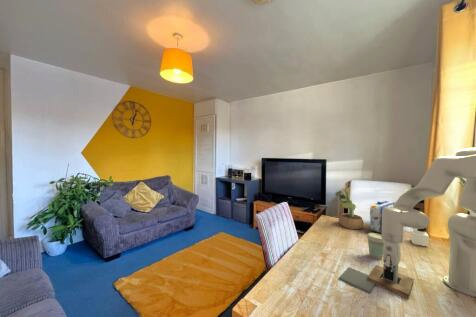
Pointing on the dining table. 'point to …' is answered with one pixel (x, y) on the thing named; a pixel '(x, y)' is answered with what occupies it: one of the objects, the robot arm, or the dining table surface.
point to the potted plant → (349, 219)
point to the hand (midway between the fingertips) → (390, 275)
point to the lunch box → (378, 214)
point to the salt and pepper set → (419, 237)
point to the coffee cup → (375, 245)
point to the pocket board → (400, 289)
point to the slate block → (395, 270)
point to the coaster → (357, 279)
